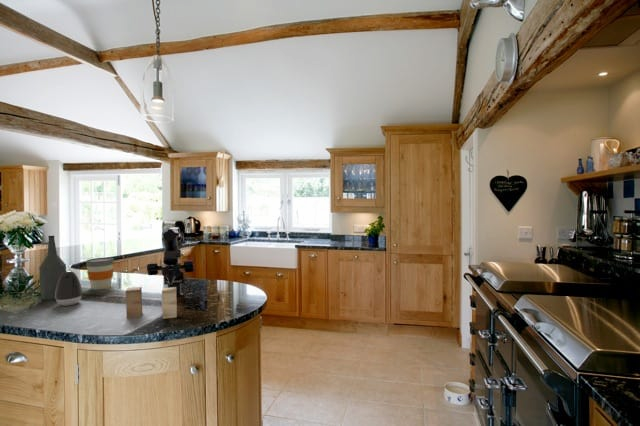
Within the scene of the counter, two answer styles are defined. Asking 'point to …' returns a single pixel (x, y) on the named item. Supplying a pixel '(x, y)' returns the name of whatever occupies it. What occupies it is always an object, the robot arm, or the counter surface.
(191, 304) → the counter surface
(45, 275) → the bottle
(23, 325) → the counter surface
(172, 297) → the maple block
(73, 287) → the aroma diffuser
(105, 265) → the reusable coffee cup
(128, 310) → the walnut block
